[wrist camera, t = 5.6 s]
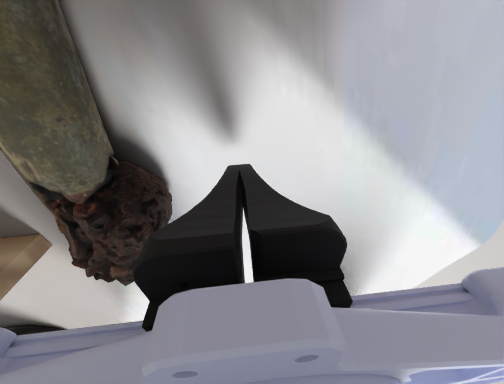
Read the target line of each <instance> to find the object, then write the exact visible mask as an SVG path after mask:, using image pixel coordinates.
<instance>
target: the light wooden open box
mask: <svg viewBox="0 0 504 384" xmlns="http://www.w3.org/2000/svg"><path fill="white" fill-rule="evenodd" d="M51 246H52V245H51V244H50V243H49V242H48V241H47V240H46V239H45V238H44V237H43V236H42V235H41V234H37V235H27V236H17V237H7V238H0V300H1V299H2V298H3V297H4V296H5V295H6V294H7V293H8V292H9V291H10V290H11V289H12V287H13V286H14V285H15V284H16V283H17V282H18V281H19V280H20V279H21V278H22V277H23V276H24V275H25V274H26V273H27V272H28V270H29V269H30V268H31V267H32V266H33V265H34V264H35V263H36V262H37V261H38V260H39V259H40V258H41V257H42V256H43V254H44V253H45V252H46V251H47V250H48V249H49V248H50V247H51Z"/></svg>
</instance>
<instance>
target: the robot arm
mask: <svg viewBox="0 0 504 384" xmlns="http://www.w3.org/2000/svg"><path fill="white" fill-rule="evenodd" d="M243 209H244V214H245V219H246V224H247V229H248V234H249V240H250V249H251V259H252V269H253V280H254V282H252V283H245V279H244V265H243V250H242V222H243ZM346 248H347V242H346V238H345V237H344V235H343V233H342V232H341V230H340V229H339V227H338V226H337V224H336V223H335V222H334V221H333V219H332V218H331V217H330V216H329V215H326V214H323V213H320V212H317V211H314V210H311V209H308V208H306V207H304V206H301V205H299V204H297V203H295V202H293V201H291V200H289V199H287V198H286V197H284V196H282V195H281V194H279V193H278V192H276V191H275V190H274V189H272V188H271V187H270V186H269V185H268V184H267V183H266V182H265V181H264V180H263V179H262V178H261V177H260V176H259V175H258V174H257V173H256V171H255V170H254V169H253V167H252V166H251V165H250V164H242V165H230V166H228V167H227V169H226V171H225V172H224V174H223V176H222V177H221V179H220V180H219V182H218V183H217V184H216V186H215V187H214V188H213V189H212V191H211V192H210V193H209V194H208V195H207V196H206V197H205V198H204V199H203V200H202V201H201V202H200V203H199V204H197V205H196V206H195V207H194V208H192V209H191V210H190V211H189V212H187V213H186V214H184V215H183V216H181V217H180V218H178V219H176V220H175V221H173V222H171V223H170V224H168V225H166V226H164V227H162V228H160V229H158V230H156V231H155V232H153V233H150V235H149V237H148V238H147V240H146V242H145V244H144V246H143V248H142V250H141V252H140V254H139V256H138V259H137V261H136V263H135V265H134V267H133V270H132V277H133V279H134V281H135V283H136V284H137V285H138V287H139V288H140V289H141V291H142V292H143V293H144V294H145V296H146V297H147V298H148V299H149V301H150V302H149V305H148V308H147V312H146V315H145V318H144V321H137V322H128V323H120V324H111V325H103V326H94V327H86V328H77V329H69V330H61V331H52V332H44V333H35V334H27V335H18V336H17V335H16V334H15V333H14V332H12V331H10V330H8V329H5V328H1V327H0V384H491V383H498V382H504V267H502V268H493V269H485V270H478V271H475V272H472V273H470V274H469V275H467V276H466V277H465V278H464V279H463V280H462V281H461V283H458V284H449V285H442V286H432V287H424V288H416V289H407V290H399V291H390V292H382V293H373V294H365V295H356V296H350V294H349V292H348V290H347V288H346V286H345V284H344V282H343V280H344V274H343V272H342V270H341V268H340V265H341V262H342V260H343V257H344V255H345V252H346Z"/></svg>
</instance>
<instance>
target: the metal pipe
mask: <svg viewBox="0 0 504 384" xmlns="http://www.w3.org/2000/svg"><path fill="white" fill-rule="evenodd" d="M0 150H1V151H2V152H3V153H4V155H5V156H6V157H7V159H8V160H9V161H10V162H11V164H12V165H13V166H14V168H15V169H16V170H17V172H18V173H19V174H20V175H21V177H22V178H23V179H24V181H25V182H26V183H27V184H28V186H29V187H30V188H31V189H32V191H33V192H34V193H35V194H36V195H37V197H38V198H39V199H40V200H41V202H42V203H43V204H44V205H45V206H46V207H47V208H48V209H49V210H50V211H51V212H52V213H53V214H54V216H55V219H56V222H57V225H58V228H59V230H60V231H61V233H63V234H64V235H65V237H66V239H67V240H68V242H69V245H70V247H69V251H70V255H71V256H72V259H73V261H72V264H73V265H74V266H77V267H80V268H82V269H85V270H86V275H87V277H91V276H93V275H94V278H95V279H96V280H98V279H103V280H105V281H106V282H108V283H109V282H112V281H114V280H116V279H117V280H118V281H119V282H120V283H122V284H123V285H125V286H126V285H128V284H130V283H132V282H134V279H133V277H132V270H133V267H134V265H135V263H136V261H137V259H138V256H139V254H140V252H141V250H142V248H143V246H144V244H145V242H146V240H147V238H148V237H149V235H150V233H153V232H155V231H156V230H158V229H160V228H162V227H164V226H166V225H168V221H169V219H170V217H171V215H172V204H171V202H172V197H171V194H170V193H169V192H168V188H167V186H166V185H165V183H164V182H163V181H162V180H161V179H160V178H158V177H157V176H154V175H152V174H150V173H149V172H147V171H145V170H144V169H142V168H140V167H137V166H135V165H134V164H133V163H131V162H127V161H117V160H116V159H115V158H114V152H113V149H112V147H111V144H110V142H109V140H108V137H107V135H106V132H105V130H104V127H103V124H102V121H101V118H100V115H99V112H98V110H97V107H96V104H95V101H94V98H93V95H92V93H91V90H90V87H89V85H88V82H87V79H86V77H85V74H84V71H83V68H82V66H81V63H80V60H79V57H78V54H77V52H76V49H75V46H74V43H73V41H72V38H71V35H70V32H69V30H68V27H67V24H66V21H65V19H64V16H63V13H62V10H61V8H60V5H59V2H58V0H0Z"/></svg>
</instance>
